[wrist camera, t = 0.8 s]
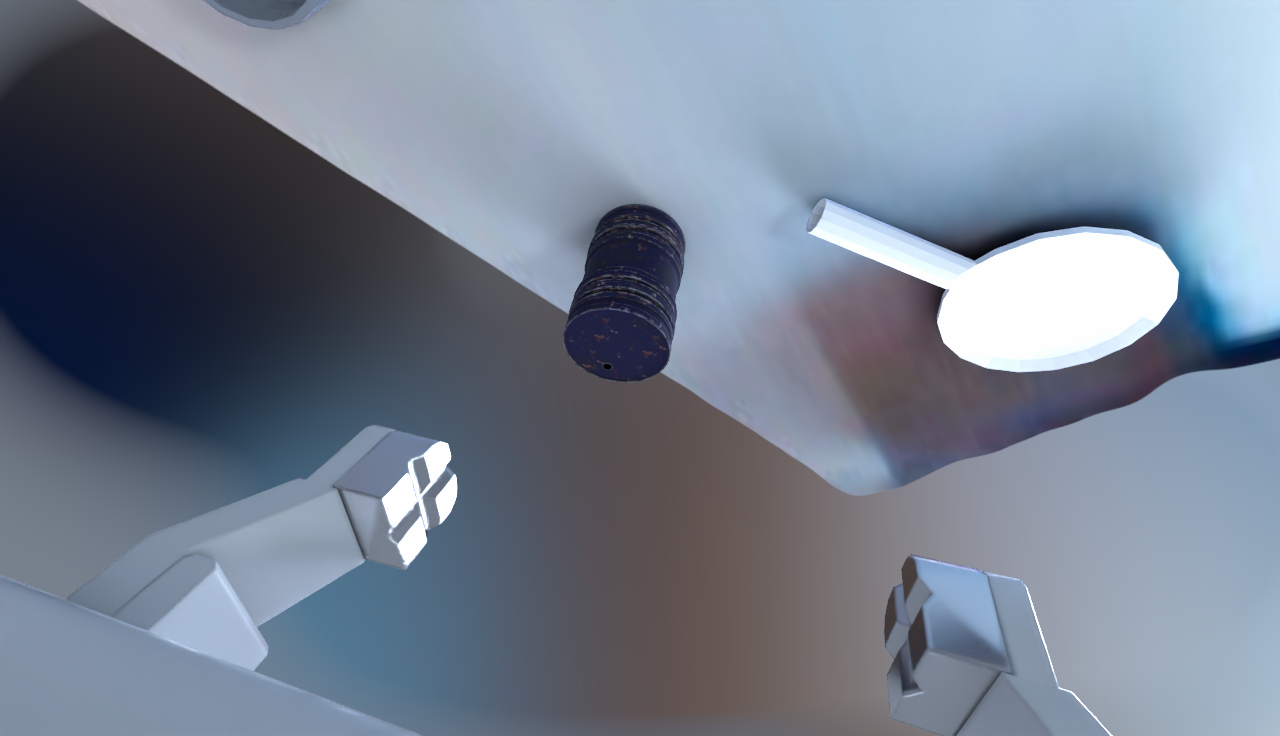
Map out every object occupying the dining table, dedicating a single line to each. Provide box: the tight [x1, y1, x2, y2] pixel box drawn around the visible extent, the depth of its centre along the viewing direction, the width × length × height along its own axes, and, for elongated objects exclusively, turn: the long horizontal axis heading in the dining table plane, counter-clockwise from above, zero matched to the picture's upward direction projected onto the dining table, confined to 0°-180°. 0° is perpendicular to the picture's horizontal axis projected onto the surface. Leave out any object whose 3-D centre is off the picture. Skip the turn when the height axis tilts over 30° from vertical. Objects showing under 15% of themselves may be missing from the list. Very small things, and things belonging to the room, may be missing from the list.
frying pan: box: [807, 198, 1179, 372], centre depth 54 cm, size 35×19×5 cm, turn 72°
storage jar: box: [563, 204, 685, 382], centre depth 54 cm, size 10×10×15 cm
